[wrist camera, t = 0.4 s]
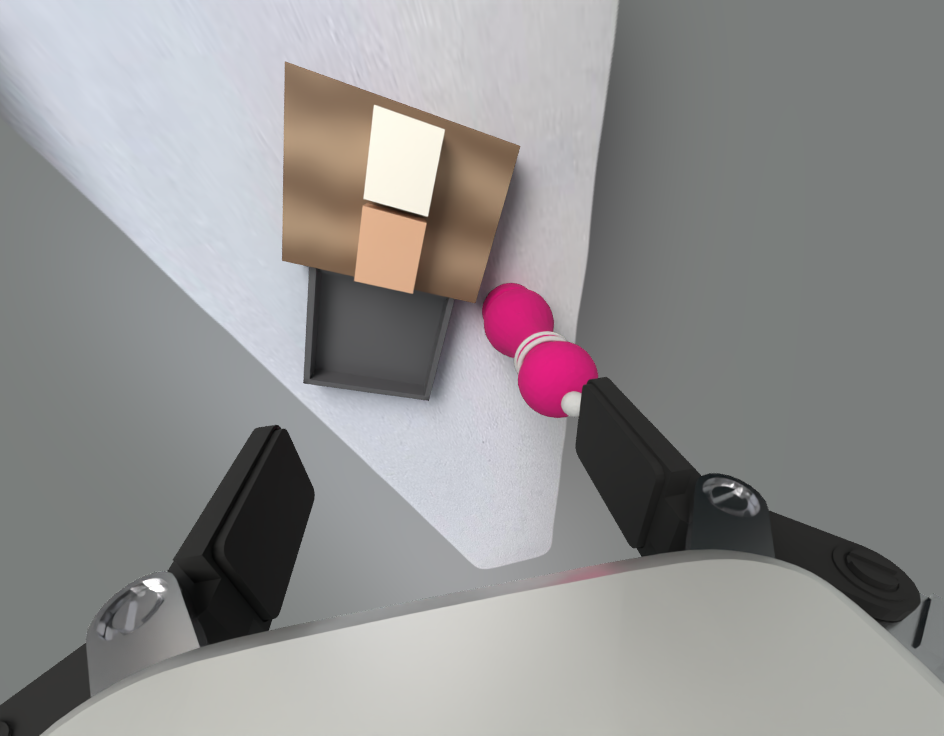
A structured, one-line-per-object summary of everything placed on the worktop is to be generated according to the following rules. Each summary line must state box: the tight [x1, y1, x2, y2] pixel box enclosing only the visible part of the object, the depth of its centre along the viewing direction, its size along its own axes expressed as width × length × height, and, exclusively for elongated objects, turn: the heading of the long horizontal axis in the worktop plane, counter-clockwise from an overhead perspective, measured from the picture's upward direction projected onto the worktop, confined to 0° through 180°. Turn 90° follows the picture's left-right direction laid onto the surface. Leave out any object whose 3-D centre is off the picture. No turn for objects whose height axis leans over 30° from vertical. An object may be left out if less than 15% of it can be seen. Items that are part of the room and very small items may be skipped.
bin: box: [303, 267, 455, 401], centre depth 37 cm, size 13×14×3 cm
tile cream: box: [363, 105, 445, 217], centre depth 26 cm, size 6×5×3 cm
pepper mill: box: [482, 283, 598, 418], centre depth 31 cm, size 7×7×20 cm
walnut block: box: [282, 62, 520, 303], centre depth 31 cm, size 14×18×4 cm
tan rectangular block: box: [354, 203, 426, 294], centre depth 29 cm, size 6×5×3 cm
